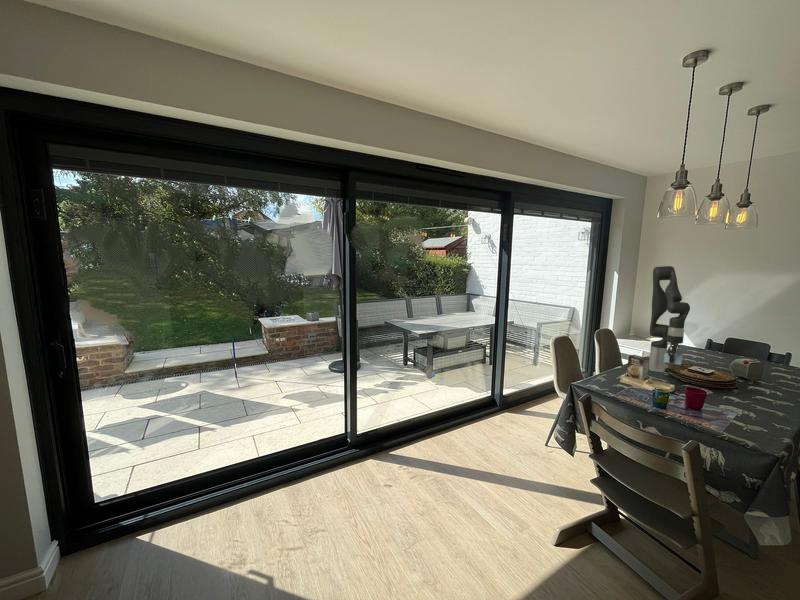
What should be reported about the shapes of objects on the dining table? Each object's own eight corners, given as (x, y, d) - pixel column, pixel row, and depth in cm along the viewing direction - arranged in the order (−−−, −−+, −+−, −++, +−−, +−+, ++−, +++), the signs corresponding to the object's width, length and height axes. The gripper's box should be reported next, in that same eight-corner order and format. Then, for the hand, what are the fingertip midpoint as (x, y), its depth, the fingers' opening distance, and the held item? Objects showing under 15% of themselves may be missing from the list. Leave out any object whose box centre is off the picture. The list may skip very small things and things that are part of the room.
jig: (628, 377, 219) (628, 372, 218) (674, 389, 199) (675, 383, 198) (619, 381, 211) (620, 375, 211) (667, 394, 191) (668, 388, 191)
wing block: (665, 360, 206) (666, 352, 205) (681, 363, 200) (682, 355, 199) (663, 361, 203) (664, 353, 203) (680, 364, 197) (681, 356, 197)
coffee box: (625, 379, 212) (627, 355, 210) (631, 378, 215) (633, 354, 213) (641, 384, 204) (643, 359, 202) (647, 382, 207) (649, 358, 205)
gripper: (671, 332, 207) (668, 359, 209) (664, 334, 199) (661, 362, 200) (686, 334, 201) (683, 361, 203) (679, 337, 193) (676, 365, 194)
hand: (672, 362), depth 202 cm, fingers closed on wing block, 4 cm apart
